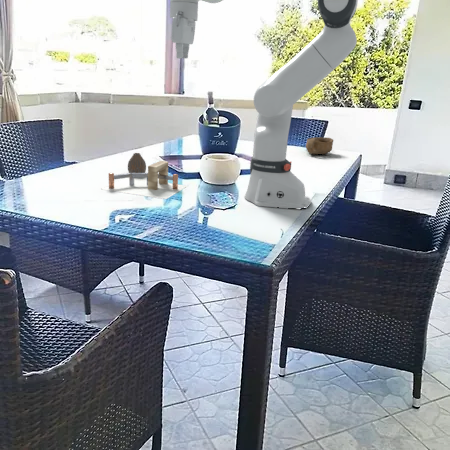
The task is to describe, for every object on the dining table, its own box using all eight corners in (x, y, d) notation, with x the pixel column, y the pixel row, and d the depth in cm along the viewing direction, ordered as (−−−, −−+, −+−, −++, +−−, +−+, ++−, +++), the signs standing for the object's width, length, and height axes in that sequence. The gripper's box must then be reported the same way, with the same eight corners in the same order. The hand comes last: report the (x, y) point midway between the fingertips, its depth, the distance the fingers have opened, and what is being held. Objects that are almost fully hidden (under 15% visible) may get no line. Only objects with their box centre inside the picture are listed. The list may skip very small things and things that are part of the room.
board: (188, 187, 176) (188, 185, 175) (166, 201, 158) (166, 199, 158) (128, 179, 182) (128, 177, 182) (100, 191, 165) (100, 189, 165)
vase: (142, 179, 184) (142, 156, 181) (124, 177, 185) (124, 154, 182) (148, 175, 190) (148, 152, 187) (131, 173, 191) (131, 151, 188)
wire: (176, 184, 176) (176, 171, 174) (177, 189, 170) (178, 175, 168) (109, 183, 172) (109, 169, 170) (108, 188, 166) (108, 174, 164)
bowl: (330, 156, 240) (327, 136, 238) (302, 160, 246) (299, 141, 244) (337, 150, 256) (334, 131, 254) (311, 154, 262) (308, 136, 260)
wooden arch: (167, 183, 177) (168, 161, 174) (155, 190, 167) (156, 167, 165) (160, 182, 177) (160, 160, 175) (147, 188, 168) (148, 166, 166)
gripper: (187, 10, 147) (186, 59, 151) (198, 15, 166) (196, 58, 171) (167, 9, 147) (166, 57, 152) (180, 14, 166) (178, 57, 171)
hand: (182, 58), depth 161 cm, fingers open, 8 cm apart
